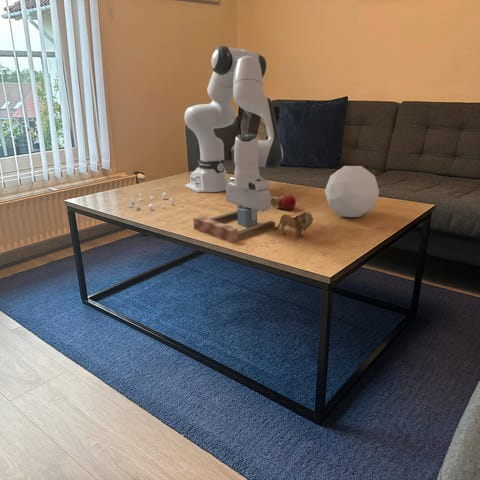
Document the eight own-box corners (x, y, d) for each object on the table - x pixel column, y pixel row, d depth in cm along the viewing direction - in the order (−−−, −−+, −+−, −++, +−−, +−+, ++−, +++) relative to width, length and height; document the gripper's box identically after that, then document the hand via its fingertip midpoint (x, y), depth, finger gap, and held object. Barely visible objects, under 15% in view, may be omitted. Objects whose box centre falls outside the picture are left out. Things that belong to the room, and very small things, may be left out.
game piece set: (157, 196, 209) (156, 188, 208) (184, 204, 195) (183, 195, 194) (119, 205, 196) (118, 196, 195) (145, 214, 183) (144, 205, 181)
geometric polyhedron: (342, 236, 173) (316, 199, 164) (340, 204, 188) (316, 168, 178) (390, 216, 165) (365, 176, 155) (384, 184, 179) (361, 146, 170)
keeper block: (237, 224, 167) (237, 208, 165) (249, 220, 171) (249, 205, 169) (245, 226, 165) (245, 210, 163) (257, 223, 168) (257, 207, 166)
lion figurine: (315, 237, 153) (316, 211, 150) (307, 241, 149) (308, 215, 146) (278, 229, 162) (278, 204, 158) (269, 233, 158) (269, 208, 155)
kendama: (256, 206, 193) (285, 210, 179) (257, 191, 193) (286, 194, 178) (270, 206, 198) (299, 210, 184) (271, 192, 197) (300, 194, 183)
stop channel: (194, 228, 164) (193, 217, 163) (237, 215, 177) (237, 205, 176) (231, 242, 150) (230, 230, 149) (275, 227, 164) (275, 216, 162)
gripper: (221, 178, 168) (222, 214, 172) (260, 187, 153) (260, 226, 158) (234, 175, 172) (234, 210, 176) (273, 183, 157) (273, 222, 162)
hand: (247, 218), depth 167 cm, fingers closed on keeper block, 4 cm apart
